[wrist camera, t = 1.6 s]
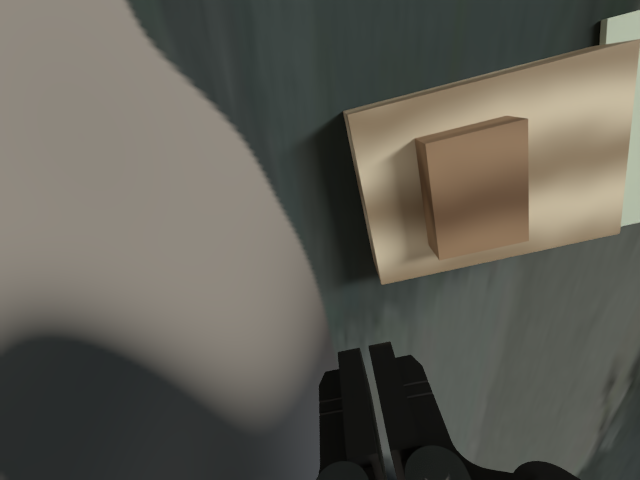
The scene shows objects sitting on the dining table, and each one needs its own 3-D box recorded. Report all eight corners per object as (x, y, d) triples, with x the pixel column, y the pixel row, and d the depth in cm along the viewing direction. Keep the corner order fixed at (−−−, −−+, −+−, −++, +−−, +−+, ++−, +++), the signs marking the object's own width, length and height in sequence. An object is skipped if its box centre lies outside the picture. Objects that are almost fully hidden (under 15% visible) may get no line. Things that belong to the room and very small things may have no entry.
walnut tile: (414, 138, 23) (425, 144, 21) (506, 115, 23) (528, 118, 20) (428, 245, 26) (439, 260, 24) (509, 227, 26) (528, 240, 23)
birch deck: (342, 111, 26) (347, 114, 22) (592, 46, 25) (640, 39, 21) (373, 261, 31) (381, 284, 28) (582, 215, 30) (619, 233, 26)
